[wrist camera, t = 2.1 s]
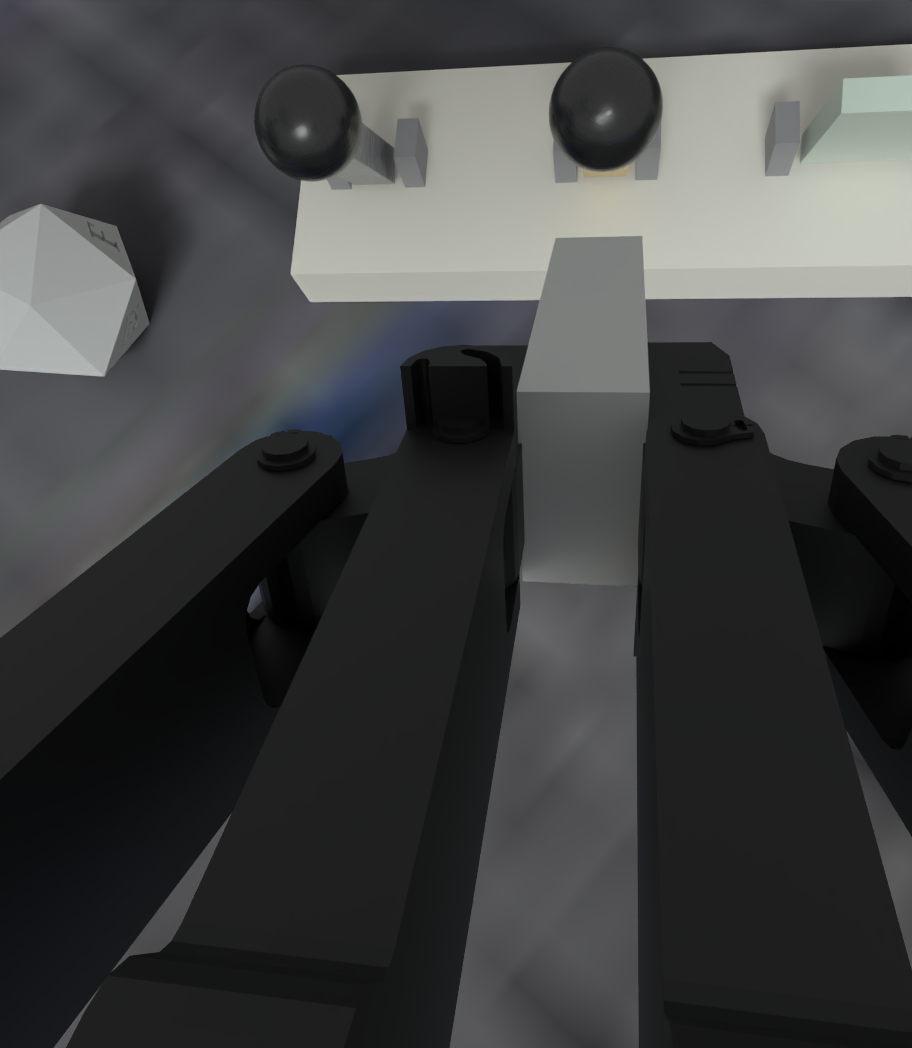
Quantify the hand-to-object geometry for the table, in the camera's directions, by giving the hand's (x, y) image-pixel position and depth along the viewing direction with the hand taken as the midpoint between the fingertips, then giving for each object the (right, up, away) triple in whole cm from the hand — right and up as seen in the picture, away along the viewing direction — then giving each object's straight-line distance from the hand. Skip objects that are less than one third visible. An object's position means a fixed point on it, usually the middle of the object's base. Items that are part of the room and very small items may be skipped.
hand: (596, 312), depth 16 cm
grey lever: (-6, +14, +27) cm, 31 cm away
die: (-22, +7, +31) cm, 39 cm away
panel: (+5, +13, +28) cm, 31 cm away
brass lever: (+4, +13, +24) cm, 28 cm away
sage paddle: (+15, +13, +23) cm, 31 cm away
